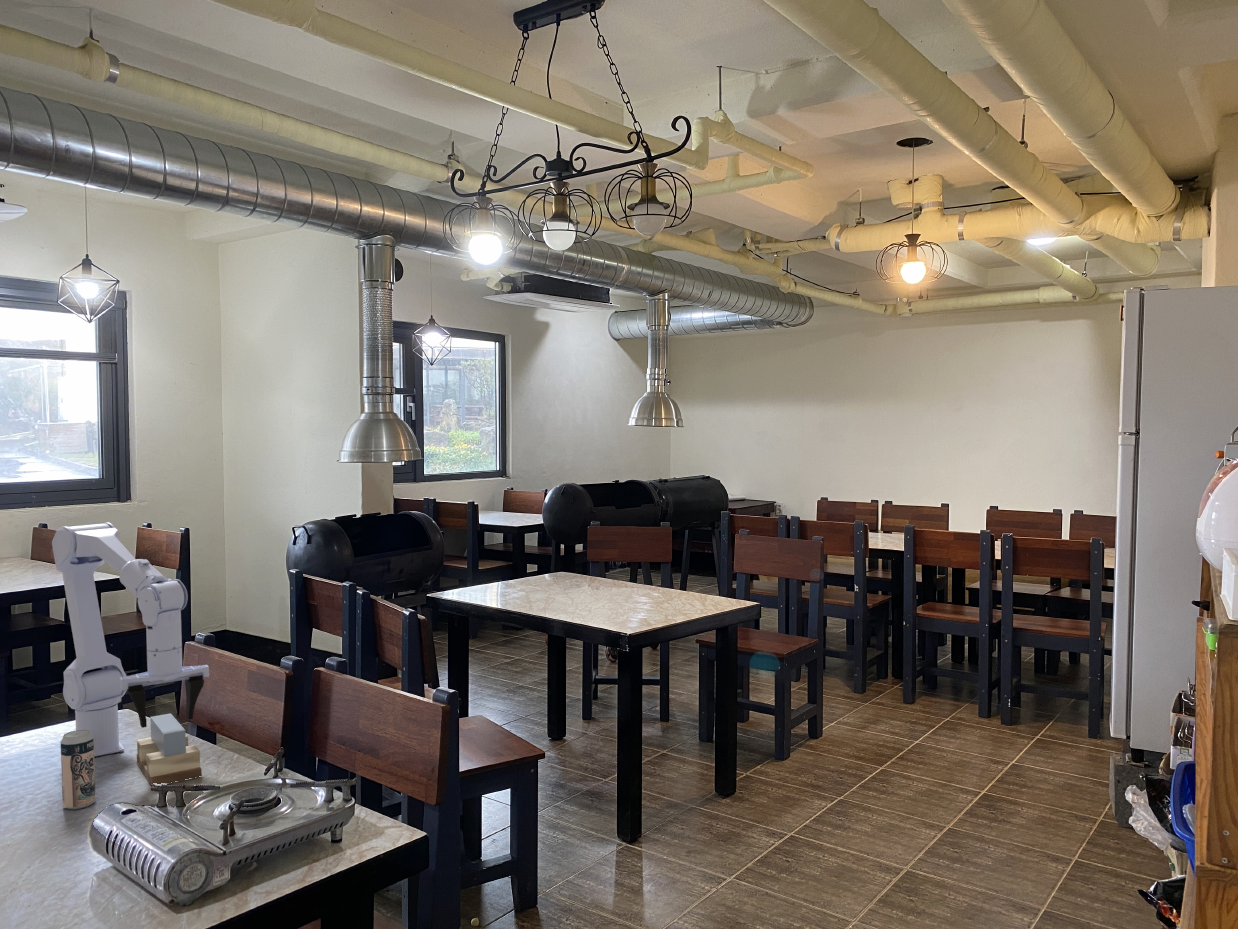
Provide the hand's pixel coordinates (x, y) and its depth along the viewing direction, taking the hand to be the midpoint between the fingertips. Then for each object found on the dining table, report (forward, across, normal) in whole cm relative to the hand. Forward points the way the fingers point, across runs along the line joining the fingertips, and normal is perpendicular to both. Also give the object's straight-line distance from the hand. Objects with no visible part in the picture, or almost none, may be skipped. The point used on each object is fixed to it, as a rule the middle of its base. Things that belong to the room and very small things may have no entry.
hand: (166, 722), depth 169 cm
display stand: (+9, 0, 0) cm, 9 cm away
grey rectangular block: (+4, 0, 0) cm, 4 cm away
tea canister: (+9, -15, -9) cm, 20 cm away
